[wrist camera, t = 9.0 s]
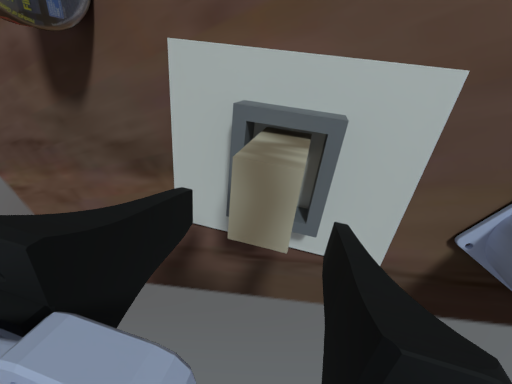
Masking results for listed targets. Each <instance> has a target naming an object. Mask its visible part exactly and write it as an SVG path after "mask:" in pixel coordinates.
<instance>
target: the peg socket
mask: <svg viewBox="0 0 512 384" xmlns="http://www.w3.org/2000/svg"><path fill="white" fill-rule="evenodd" d="M167 39H168V60H169V81H170V102H171V123H172V144H173V165H174V186H175V188H180V187H184V188H188V189H193V223H195V224H199V225H203V226H207V227H211V228H215V229H219V230H223V231H227V232H228V224H229V208H230V193H231V177H232V162H233V156H234V155H235V154H236V153H238V152H239V151H240V150H241V149H242V148H243V147H244V146H246V145H247V144H248V143H249V142H250V141H251V140H252V139H253V138H255V137H256V136H257V135H258V134H259V133H260V132H261V131H263V130H264V129H265V128H266V127H271V128H278V129H284V130H290V131H296V132H302V133H309V134H312V137H311V142H310V146H309V151H308V156H307V161H306V166H305V170H304V175H303V180H302V185H301V189H300V194H299V199H298V203H297V208H296V213H295V218H294V222H293V227H292V232H291V237H290V241H289V246H288V247H291V248H295V249H299V250H303V251H307V252H311V253H315V254H319V255H323V256H324V253H325V250H326V247H327V244H328V240H329V237H330V234H331V231H332V228H333V224H334V222H339V223H343V224H347V225H349V227H350V228H351V230H352V231H353V232H354V234H355V235H356V237H357V238H358V239H359V241H360V242H361V244H362V245H363V246H364V248H365V249H366V250H367V252H368V253H369V254H370V255H371V257H372V258H373V259H374V260H375V261H376V262H377V264H378V265H379V266H380V265H381V263H382V261H383V258H384V256H385V254H386V252H387V250H388V247H389V245H390V243H391V241H392V239H393V237H394V234H395V232H396V230H397V228H398V226H399V224H400V221H401V219H402V217H403V215H404V213H405V210H406V208H407V206H408V204H409V202H410V200H411V197H412V195H413V193H414V191H415V189H416V187H417V184H418V182H419V180H420V178H421V176H422V174H423V171H424V169H425V167H426V165H427V163H428V160H429V158H430V156H431V154H432V152H433V150H434V147H435V145H436V143H437V141H438V139H439V137H440V134H441V132H442V130H443V128H444V126H445V123H446V121H447V119H448V117H449V115H450V113H451V110H452V108H453V106H454V104H455V102H456V100H457V97H458V95H459V93H460V91H461V89H462V86H463V84H464V82H465V80H466V78H467V76H468V73H469V71H466V70H457V69H448V68H439V67H429V66H420V65H411V64H402V63H393V62H384V61H375V60H366V59H357V58H347V57H338V56H329V55H320V54H311V53H302V52H293V51H284V50H274V49H265V48H256V47H247V46H238V45H229V44H220V43H211V42H202V41H192V40H183V39H174V38H167Z"/></svg>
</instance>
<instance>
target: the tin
mask: <svg viewBox="0 0 512 384" xmlns="http://www.w3.org/2000/svg"><path fill="white" fill-rule="evenodd" d="M90 1H91V0H0V18H2V19H4V20H6V21H9V22H12V23H15V24H19V25H24V26H29V27H35V28H38V29H42V30H48V31H62V30H66V29H69V28H72V27H74V26H75V25H77V24H78V23H79V22H80V21H81V20H82V19H83V18H84V16H85V15H86V13H87V11H88V9H89V5H90Z"/></svg>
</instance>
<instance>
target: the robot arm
mask: <svg viewBox="0 0 512 384" xmlns="http://www.w3.org/2000/svg"><path fill="white" fill-rule="evenodd" d="M192 223H193V189H188V188H184V187H180V188H175V189H171V190H168V191H165V192H161V193H158V194H155V195H152V196H149V197H145V198H142V199H138V200H134V201H131V202H127V203H123V204H119V205H115V206H110V207H105V208H99V209H93V210H85V211H78V212H70V213H59V214H44V215H0V384H196V380H195V378H194V375H193V373H192V371H191V368H190V366H189V365H188V364H187V363H186V362H185V361H184V360H183V359H182V358H181V357H180V356H179V355H178V354H177V353H175V352H173V351H171V350H170V349H168V348H166V347H164V346H162V345H160V344H158V343H155V342H153V341H150V340H147V339H144V338H142V337H138V336H136V335H133V334H130V333H128V332H125V331H122V330H119V329H116V328H117V327H118V325H119V323H120V322H121V320H122V318H123V317H124V315H125V313H126V312H127V310H128V309H129V307H130V306H131V304H132V303H133V301H134V300H135V298H136V297H137V295H138V293H139V292H140V290H141V289H142V288H143V286H144V285H145V283H146V282H147V280H148V279H149V278H150V276H151V275H152V274H153V272H154V271H155V270H156V269H157V267H158V266H159V265H160V264H161V263H162V262H163V261H164V259H165V258H166V257H167V256H168V255H169V254H170V253H171V251H172V250H173V249H174V248H175V247H176V246H177V244H178V243H179V242H180V241H181V240H182V238H183V237H184V236H185V234H186V233H187V231H188V230H189V228H190V226H191V225H192ZM455 242H456V244H457V245H458V246H459V247H460V248H462V249H463V250H464V251H465V252H466V253H468V254H469V255H470V256H471V257H472V258H473V259H475V260H476V261H477V262H478V263H479V264H480V265H482V266H483V267H484V268H485V269H486V270H488V271H489V272H490V273H491V274H492V275H493V276H495V277H496V278H497V279H498V280H499V281H501V282H502V283H503V284H504V285H505V286H506V287H508V288H509V289H510V290H511V291H512V204H511V205H509V206H507V207H505V208H504V209H502V210H500V211H499V212H497V213H495V214H494V215H492V216H490V217H489V218H487V219H485V220H483V221H482V222H480V223H478V224H477V225H475V226H473V227H472V228H470V229H468V230H466V231H465V232H463V233H461V234H460V235H458V236H457V237H456V238H455ZM468 243H470V245H468V246H465V245H466V244H468ZM322 277H323V296H324V313H325V336H324V356H323V372H322V384H512V382H511V381H510V379H509V378H508V376H507V374H506V373H505V371H504V369H503V368H502V366H501V365H500V363H499V361H498V360H497V359H496V358H495V357H493V356H492V355H490V354H488V353H487V352H486V351H484V350H483V349H481V348H479V347H478V346H477V345H475V344H473V343H472V342H470V341H469V340H467V339H466V338H464V337H463V336H461V335H460V334H458V333H457V332H455V331H454V330H453V329H451V328H450V327H448V326H447V325H446V324H444V323H443V322H442V321H440V320H439V319H438V318H436V317H435V316H434V315H432V314H431V313H430V312H429V311H427V310H426V309H425V308H424V307H422V306H421V305H420V304H419V303H418V302H416V301H415V300H414V299H413V298H412V297H410V296H409V295H408V294H407V293H406V292H405V291H404V290H403V289H402V288H400V287H399V286H398V285H397V284H396V283H395V282H394V281H393V280H392V279H391V278H390V277H389V276H388V275H387V274H386V273H385V272H384V270H383V269H382V268H381V267H380V266H379V265H378V264H377V262H376V261H375V260H374V259H373V258H372V257H371V255H370V254H369V253H368V252H367V250H366V249H365V248H364V246H363V245H362V244H361V242H360V241H359V239H358V238H357V237H356V235H355V234H354V232H353V231H352V230H351V228H350V227H349V225H347V224H343V223H339V222H334V224H333V228H332V231H331V234H330V237H329V240H328V244H327V247H326V250H325V253H324V260H323V272H322Z"/></svg>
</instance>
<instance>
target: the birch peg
mask: <svg viewBox="0 0 512 384" xmlns="http://www.w3.org/2000/svg"><path fill="white" fill-rule="evenodd" d="M311 137H312V134H309V133H302V132H296V131H290V130H284V129H278V128H271V127H266V128H265V129H264V130H263V131H261V132H260V133H259V134H258V135H257V136H256V137H255V138H253V139H252V140H251V141H250V142H249V143H248V144H247V145H246V146H244V147H243V148H242V149H241V150H240V151H239V152H238V153H236V154H235V155H234V156H233V162H232V177H231V193H230V208H229V224H228V239H231V240H235V241H239V242H243V243H247V244H251V245H255V246H259V247H263V248H267V249H271V250H275V251H279V252H283V253H287V251H288V246H289V241H290V237H291V232H292V227H293V222H294V218H295V213H296V208H297V203H298V199H299V194H300V189H301V185H302V180H303V175H304V170H305V166H306V161H307V156H308V151H309V146H310V142H311Z"/></svg>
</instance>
